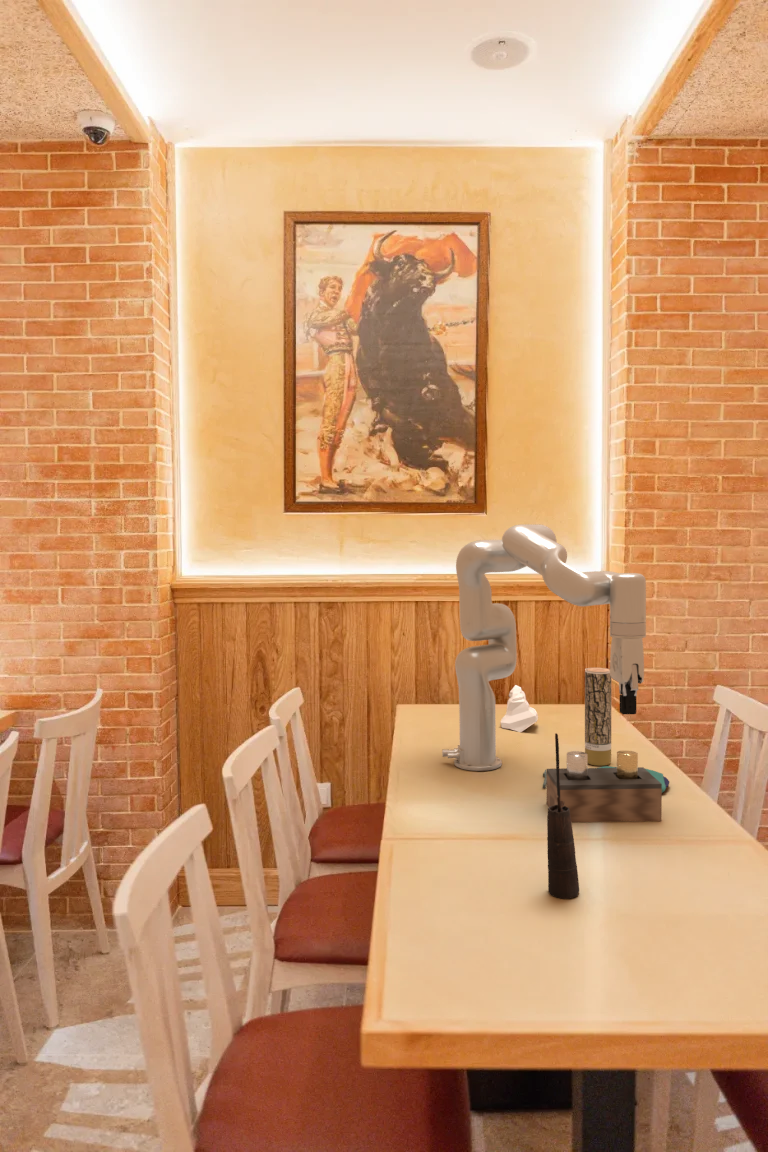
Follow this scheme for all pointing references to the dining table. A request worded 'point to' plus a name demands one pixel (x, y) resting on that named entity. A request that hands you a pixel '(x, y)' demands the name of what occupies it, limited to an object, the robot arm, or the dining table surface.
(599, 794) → the peg block
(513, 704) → the soft serve ice cream
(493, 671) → the robot arm
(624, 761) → the brass peg
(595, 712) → the paper tube
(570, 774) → the steel peg
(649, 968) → the dining table surface
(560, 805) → the butter churn
